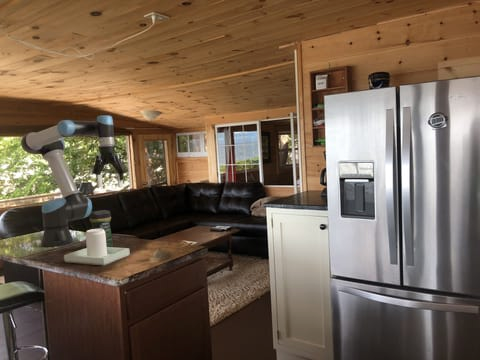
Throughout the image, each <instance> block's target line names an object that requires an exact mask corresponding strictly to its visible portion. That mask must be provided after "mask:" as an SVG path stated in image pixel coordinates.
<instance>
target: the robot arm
mask: <svg viewBox="0 0 480 360" xmlns="http://www.w3.org/2000/svg"><path fill="white" fill-rule="evenodd" d="M114 132H115V131H114V120H113V117H112V116H111V115H98V116H97V117H96V120H93V121H92V120H91V121H89V120H88V121H87V120H73V119H72V120H71V119H70V120H69V119H66V120H63V119H62V120H60V121H59V122H58V123H57V125H54V126H51V127H48V128H46V129H43V130H41V131H38V132H29V133H27V134H24V135H23V136H22V138H21V140H20V145H21V148H22V150H23V151H25V152H26V153H28V154H31V155H41V157H42V159H43V160H44V161H46V162H47V163H48V165H49V168H50V171H51V173H52V175H53V177H54V179H55V182H56V184H57V187H58V189H59V190H60V191H59V192H60V193H61V195H62V197H60V198H53V199H50V200H46V201H44V202H43V203H42V204H41V212H42V213H41V214H42V224H43V233H42V238H41V242H40V243H41V247H44V248H45V247H49V248H50V247H59V246H64V245H69V244H71V243H73V242H74V241H73V240H74V239H73V235H72V233H71V231H70V229H69V224H68V223H69V222H71V221H76V220H83V219H85V218H87V217H90V213H91V212H92V210H93V205H92V204H93V203H92V200H91V199H90V198H89V197H88V196H84V195H83V194H84V193H83V192H82V191H80V190H78V187H77V185H76V182H75V181H74V178H73V176H72V173H71V172H70V169H69V167H68V164H67V161H66V160H65V158H64V154H65V150H66V143H65V140H64V139H67V138H71V137H73V136H74V137H77V136H78V137H79V136H80V137H83V136H85V137H93V136H98V144H99V154H100V155H96V156H95V162H94V166H93V170H92V175H95V178H96V182H97V188H103V187H104V186H103V175H102V172H103V170H104V168H105V167H106V165H111V166H112V167H113V168H114V169H115V171H116V172H117V174H116V175H117V186H118V188H121V187H124V182H123V181H124V174H125V173H127V169H126V168H125V165H124V163H123V161H122V159H121V155H120V154H115V153H116V146H115V145H116V143H115V135H114Z"/></svg>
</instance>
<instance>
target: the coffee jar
mask: <svg viewBox="0 0 480 360" xmlns="http://www.w3.org/2000/svg"><path fill="white" fill-rule="evenodd" d="M111 220H112V215H111V211H110V210H109V209H108V210H107V209H101V210H95V211H91V213H90V215H89V222H90V224H91V229H104V231H105V235H106V247H114V242H113V241H114V240H113V235H112V229H111Z"/></svg>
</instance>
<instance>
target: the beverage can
mask: <svg viewBox="0 0 480 360" xmlns="http://www.w3.org/2000/svg"><path fill="white" fill-rule="evenodd" d="M85 243H86V248H87V256H90V257H105V256H106V255H107V247H106V235H105V231H104V229H92V228H91V229H89V230H86V233H85Z"/></svg>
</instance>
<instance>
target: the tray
mask: <svg viewBox="0 0 480 360" xmlns="http://www.w3.org/2000/svg"><path fill="white" fill-rule="evenodd" d="M130 255H131V254H130V248H127V247H114V246H112V247H107V255H106V256H105V257H90V256H87V247H86V248H82V249H79V250H75V251H71V252H69V253H66V254H64V255H63V258H64V259H63V260H64V263H73V264H83V265H95V266H107V265H109V264H112V263H113V262H116V261H119V260H121V259H123V258H126V257H129V256H130Z"/></svg>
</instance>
